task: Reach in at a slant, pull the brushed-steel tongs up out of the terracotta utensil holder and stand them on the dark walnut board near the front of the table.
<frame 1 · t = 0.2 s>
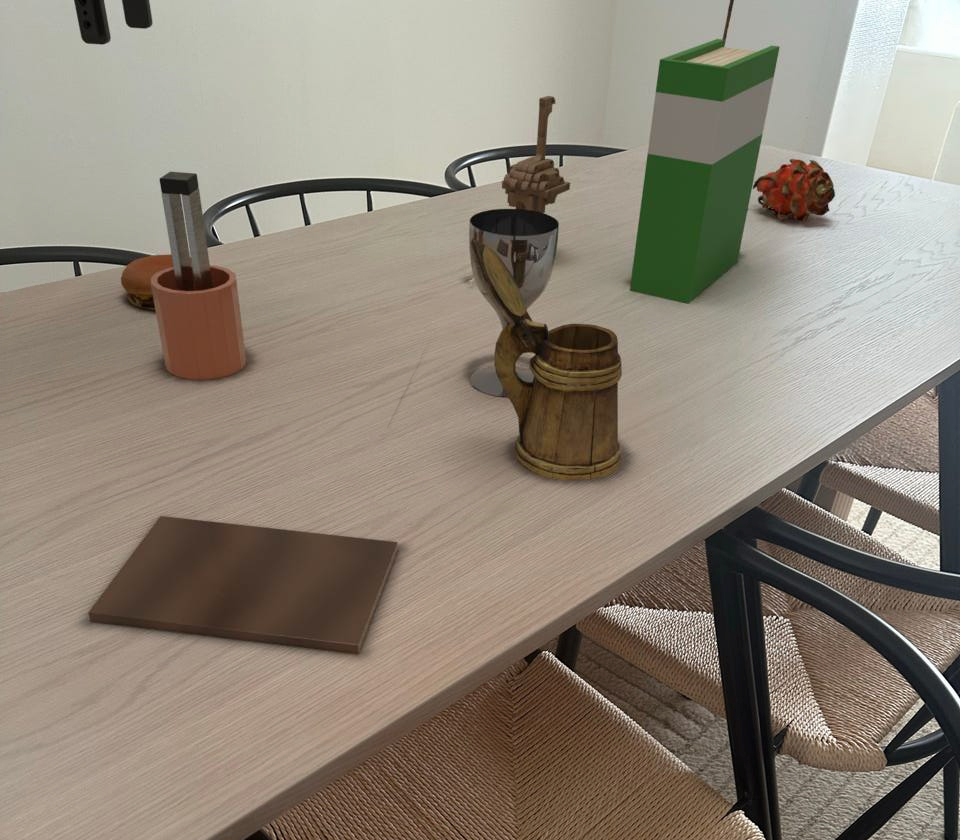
hand: (119, 35, 84), 27 cm above the table, tool pointing down, fingers open, 8 cm apart
holder: (207, 370, 97), on the table
butter churn: (693, 180, 157), on the table
board: (253, 592, 69), on the table
wine glass: (506, 382, 97), on the table
burger: (172, 304, 110), on the table
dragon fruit: (787, 219, 142), on the table
hardback book: (685, 277, 122), on the table
tongs: (206, 362, 96), point 1 cm above the table, touching holder
wooden mug: (541, 461, 85), on the table
ostrich figurine: (506, 270, 122), on the table
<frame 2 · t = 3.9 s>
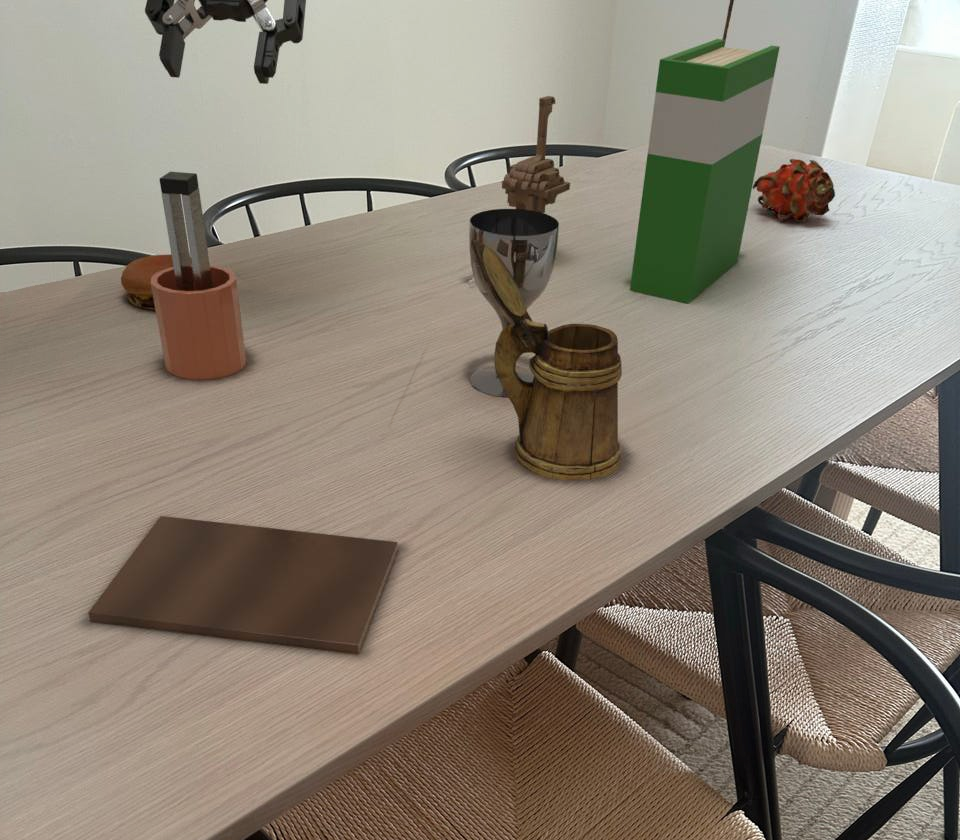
hand: (215, 75, 90), 24 cm above the table, tool tilted 45°, fingers open, 8 cm apart
nothing on the table moved.
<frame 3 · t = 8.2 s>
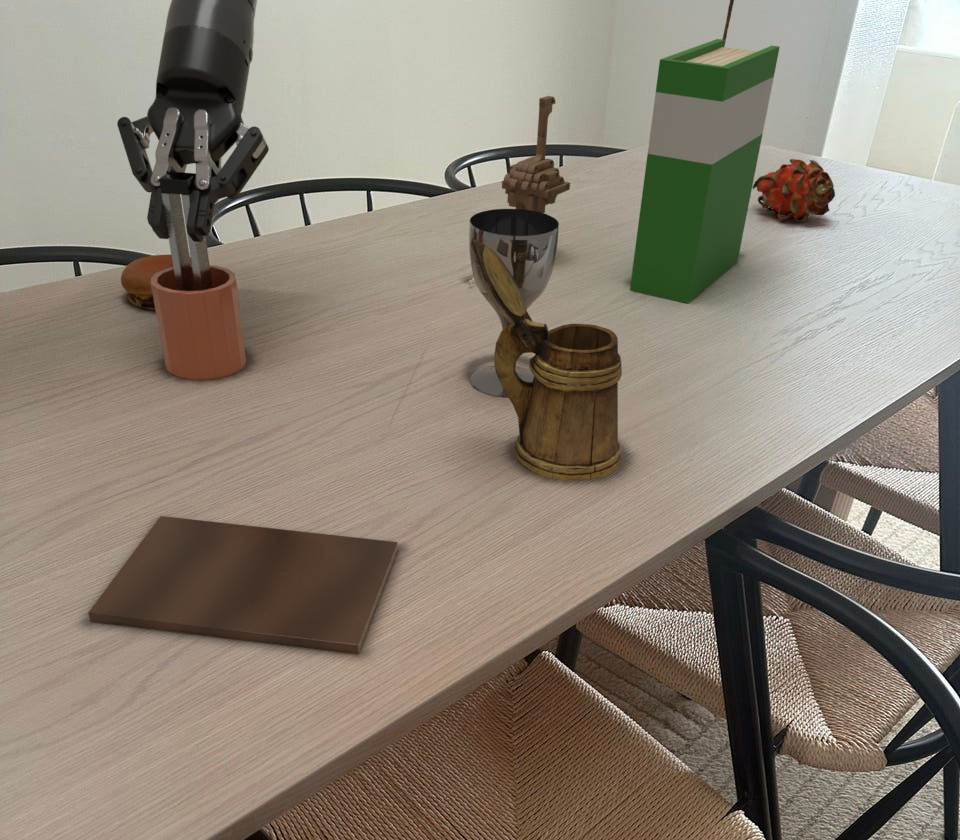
hand: (177, 235, 86), 13 cm above the table, tool tilted 45°, fingers closed on tongs, 2 cm apart
tongs: (206, 362, 96), point 1 cm above the table, touching gripper, holder
everything else where it was.
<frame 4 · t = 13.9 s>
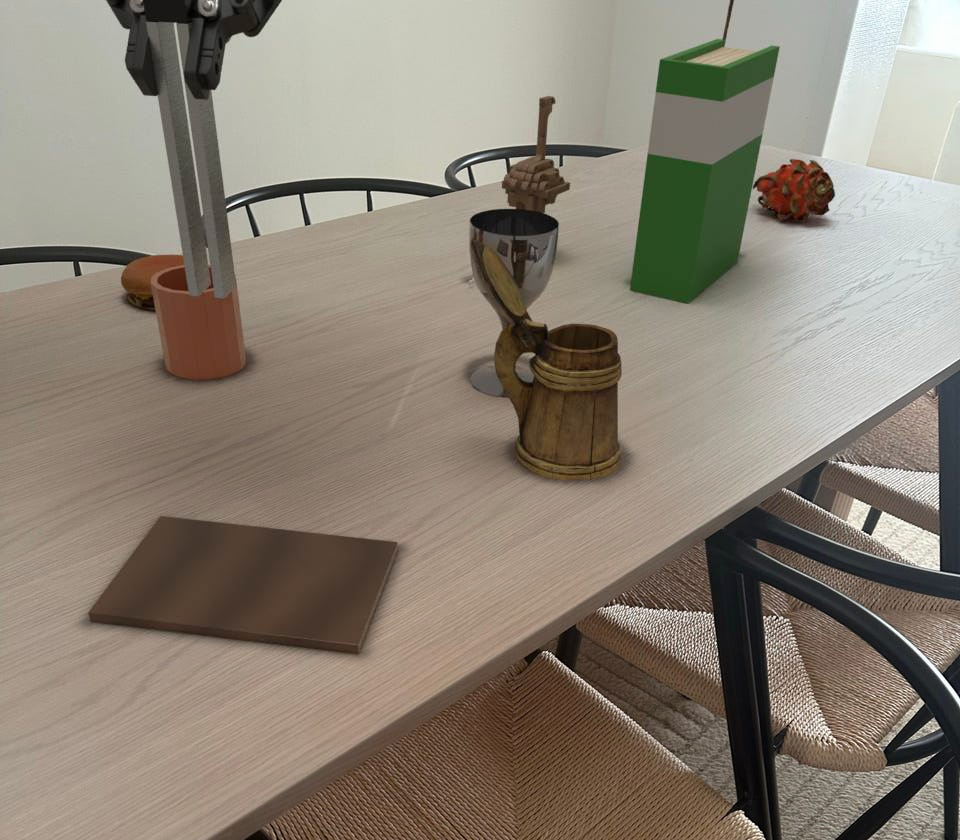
hand: (170, 87, 58), 29 cm above the table, tool tilted 45°, fingers closed on tongs, 2 cm apart
tongs: (213, 291, 67), point 17 cm above the table, touching gripper
everything else where it was.
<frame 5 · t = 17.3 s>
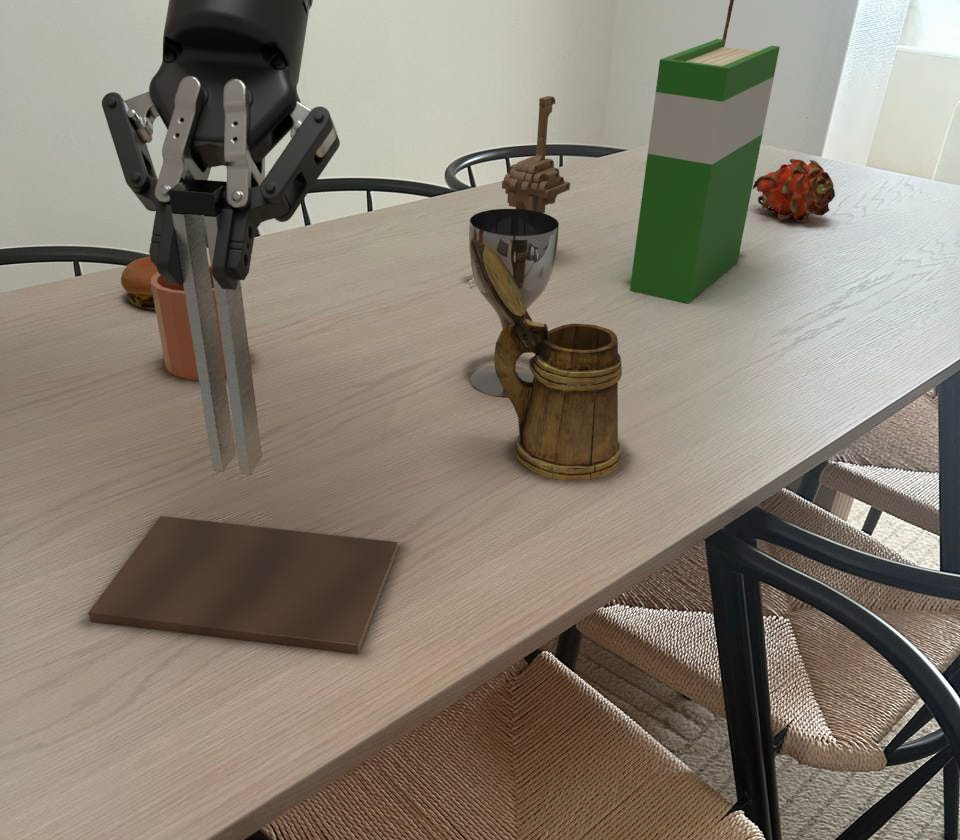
hand: (197, 279, 54), 22 cm above the table, tool tilted 45°, fingers closed on tongs, 2 cm apart
tongs: (238, 463, 64), point 9 cm above the table, touching gripper
everything else where it was.
when the fingers open (14 cm above the table, at t = 19.7 s): tongs stays where it is, resting on board.
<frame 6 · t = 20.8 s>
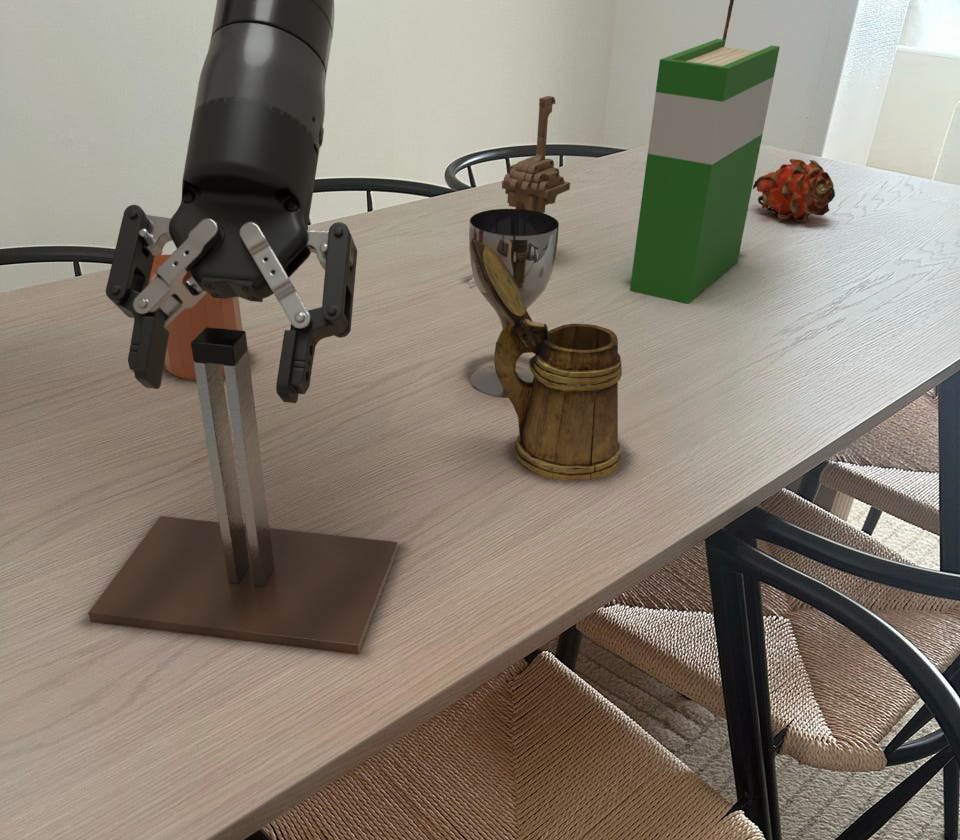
hand: (216, 391, 58), 16 cm above the table, tool tilted 45°, fingers open, 8 cm apart
tongs: (251, 574, 68), point 1 cm above the table, touching board
everything else where it was.
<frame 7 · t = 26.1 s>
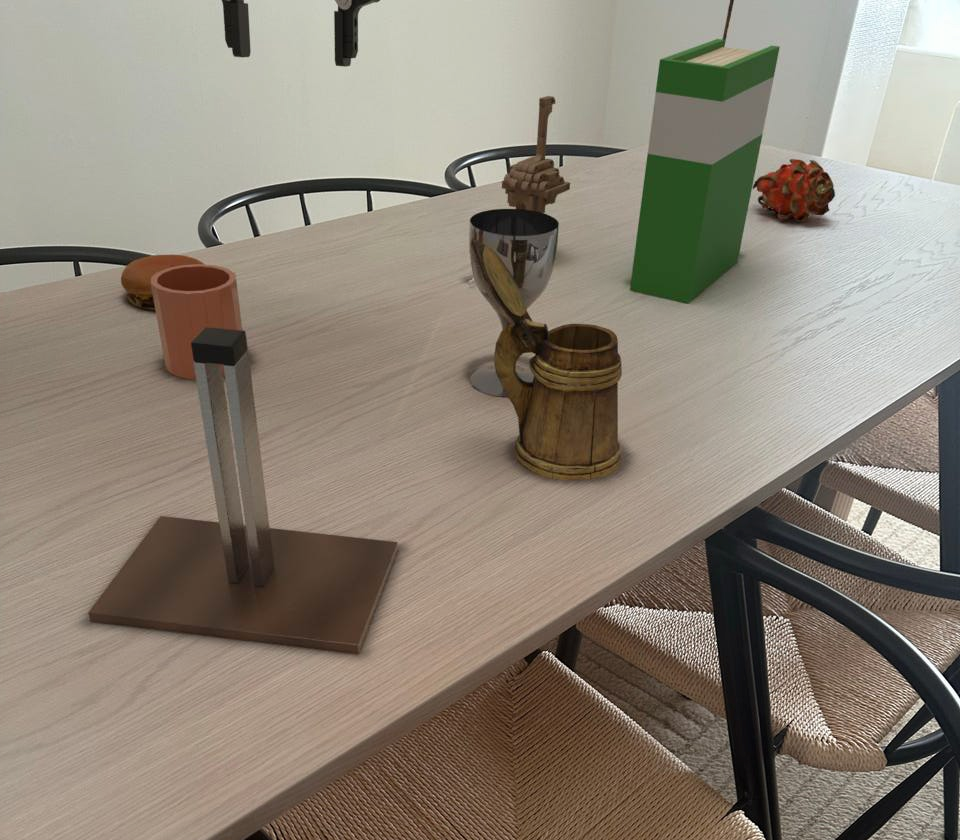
hand: (292, 61, 80), 27 cm above the table, tool pointing down, fingers open, 8 cm apart
nothing on the table moved.
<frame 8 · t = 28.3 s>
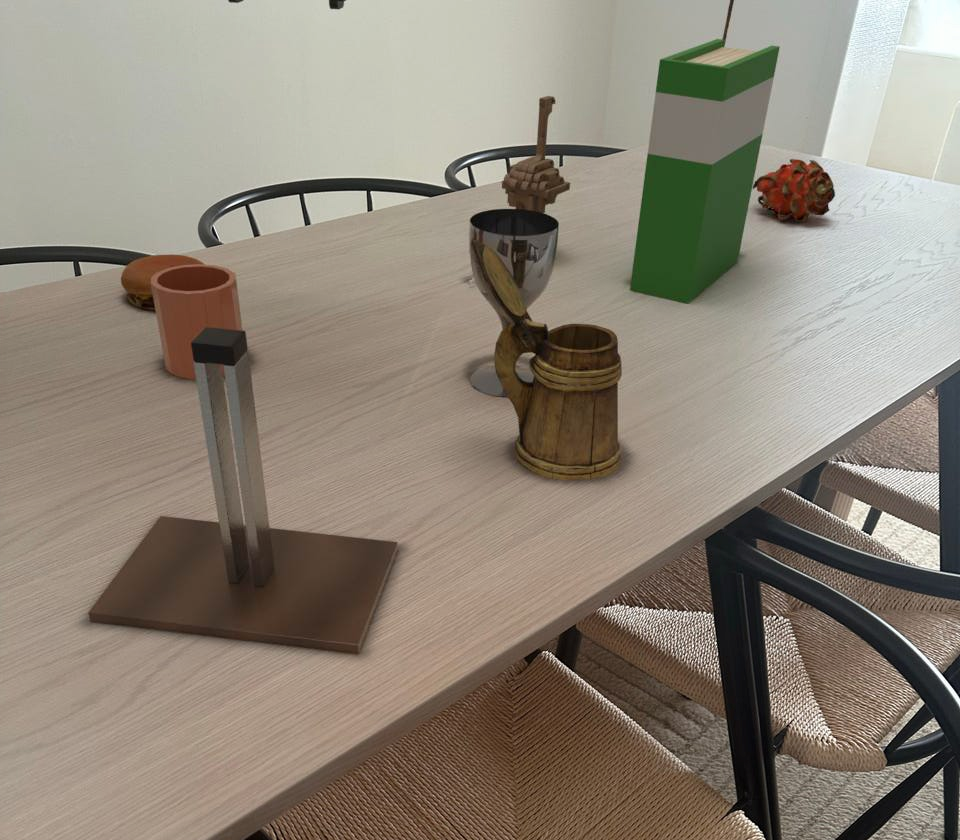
hand: (286, 5, 81), 30 cm above the table, tool pointing down, fingers open, 8 cm apart
nothing on the table moved.
at the end: tongs inside the target area on the board (0.0 cm from its centre), point 1.5 cm above the board's base; the gripper is holding nothing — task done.
